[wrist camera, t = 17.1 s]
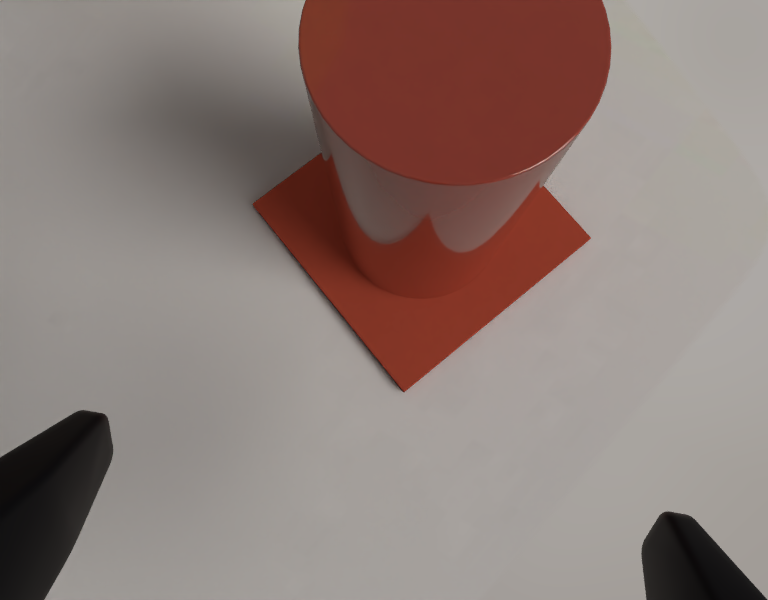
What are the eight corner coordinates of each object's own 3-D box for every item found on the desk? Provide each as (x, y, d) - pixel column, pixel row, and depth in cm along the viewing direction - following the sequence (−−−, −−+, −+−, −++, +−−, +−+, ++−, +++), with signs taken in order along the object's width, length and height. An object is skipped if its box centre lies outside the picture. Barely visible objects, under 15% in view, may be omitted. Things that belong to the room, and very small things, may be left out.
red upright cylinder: (473, 321, 21) (563, 227, 11) (317, 268, 22) (251, 127, 11) (520, 173, 22) (645, -49, 12) (370, 125, 23) (358, -133, 12)
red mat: (588, 240, 22) (591, 237, 22) (403, 392, 21) (404, 392, 21) (435, 71, 24) (435, 66, 23) (253, 206, 23) (251, 203, 22)
